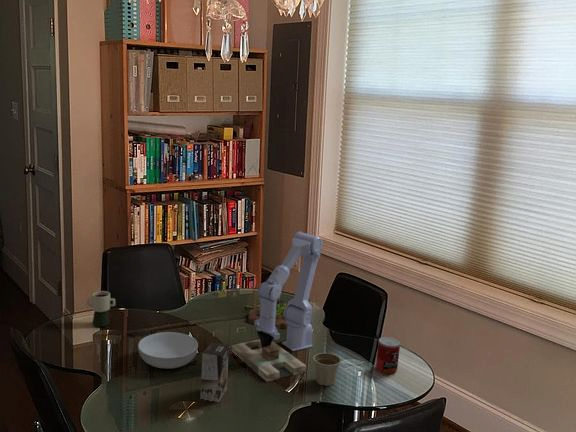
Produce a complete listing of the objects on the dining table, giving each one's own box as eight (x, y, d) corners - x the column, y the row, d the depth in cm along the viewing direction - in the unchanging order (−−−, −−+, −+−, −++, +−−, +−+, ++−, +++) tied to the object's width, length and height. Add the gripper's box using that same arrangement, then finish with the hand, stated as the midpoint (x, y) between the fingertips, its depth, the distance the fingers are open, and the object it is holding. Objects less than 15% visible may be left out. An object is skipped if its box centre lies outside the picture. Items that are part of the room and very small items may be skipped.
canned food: (384, 375, 232) (387, 347, 230) (371, 366, 239) (374, 338, 236) (401, 372, 236) (404, 344, 233) (388, 363, 242) (391, 335, 240)
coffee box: (219, 403, 207) (221, 355, 203) (199, 399, 208) (201, 352, 204) (227, 389, 215) (229, 344, 212) (208, 386, 216) (210, 341, 213)
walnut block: (272, 353, 238) (272, 344, 237) (278, 358, 234) (279, 349, 234) (261, 356, 236) (262, 347, 235) (268, 361, 232) (268, 352, 231)
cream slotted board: (267, 343, 252) (267, 337, 251) (305, 372, 231) (306, 365, 230) (230, 351, 243) (230, 345, 243) (266, 381, 222) (267, 374, 222)
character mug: (116, 321, 263) (116, 291, 260) (113, 328, 256) (114, 297, 253) (88, 321, 262) (88, 290, 259) (85, 328, 255) (84, 296, 252)
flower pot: (330, 391, 219) (332, 367, 217) (306, 382, 223) (308, 359, 221) (343, 381, 226) (345, 358, 224) (320, 373, 231) (321, 350, 229)
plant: (256, 308, 288) (257, 284, 286) (299, 314, 284) (301, 290, 282) (242, 324, 269) (243, 299, 267) (288, 332, 265) (290, 306, 263)
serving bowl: (125, 367, 226) (126, 349, 224) (157, 345, 245) (158, 327, 243) (179, 381, 219) (179, 362, 217) (207, 356, 238) (208, 339, 237)
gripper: (248, 309, 238) (246, 344, 241) (268, 324, 226) (266, 360, 230) (264, 307, 242) (262, 341, 245) (285, 321, 230) (283, 356, 233)
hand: (265, 350), depth 238 cm, fingers closed
